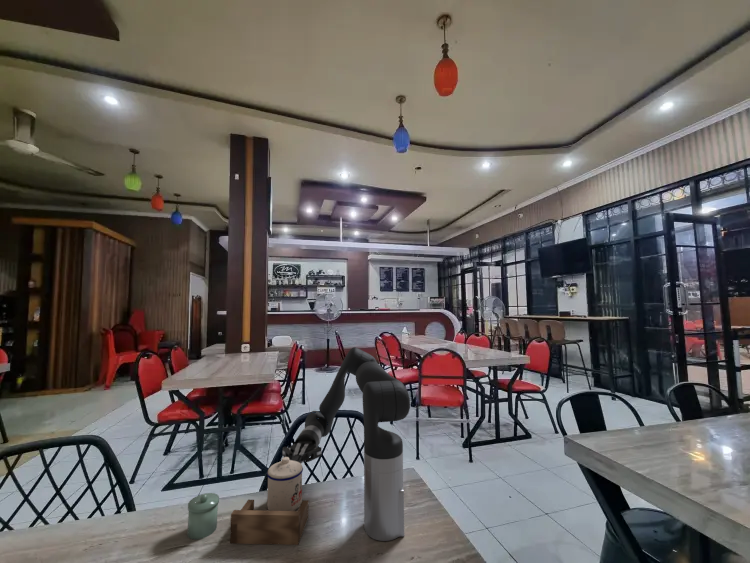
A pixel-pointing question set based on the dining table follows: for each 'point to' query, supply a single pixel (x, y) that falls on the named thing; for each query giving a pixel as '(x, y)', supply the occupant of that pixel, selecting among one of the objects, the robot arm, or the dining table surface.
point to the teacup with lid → (284, 485)
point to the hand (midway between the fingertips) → (294, 465)
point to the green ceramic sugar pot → (202, 515)
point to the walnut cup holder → (268, 525)
